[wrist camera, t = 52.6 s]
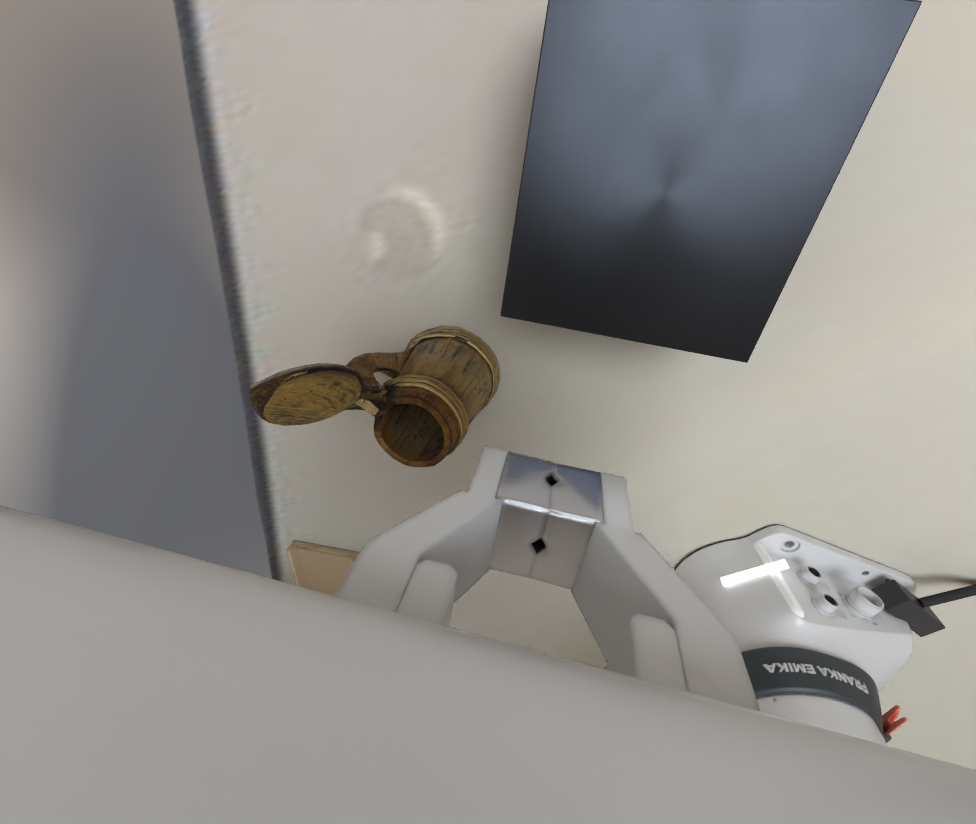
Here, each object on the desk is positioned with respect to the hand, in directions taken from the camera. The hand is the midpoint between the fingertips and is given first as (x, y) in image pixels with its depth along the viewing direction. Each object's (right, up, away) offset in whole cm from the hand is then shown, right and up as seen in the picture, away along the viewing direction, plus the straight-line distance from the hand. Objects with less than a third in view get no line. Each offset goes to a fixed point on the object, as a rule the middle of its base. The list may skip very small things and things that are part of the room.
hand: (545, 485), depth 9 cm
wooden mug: (-6, +7, +31) cm, 32 cm away
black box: (+10, +18, +21) cm, 29 cm away
